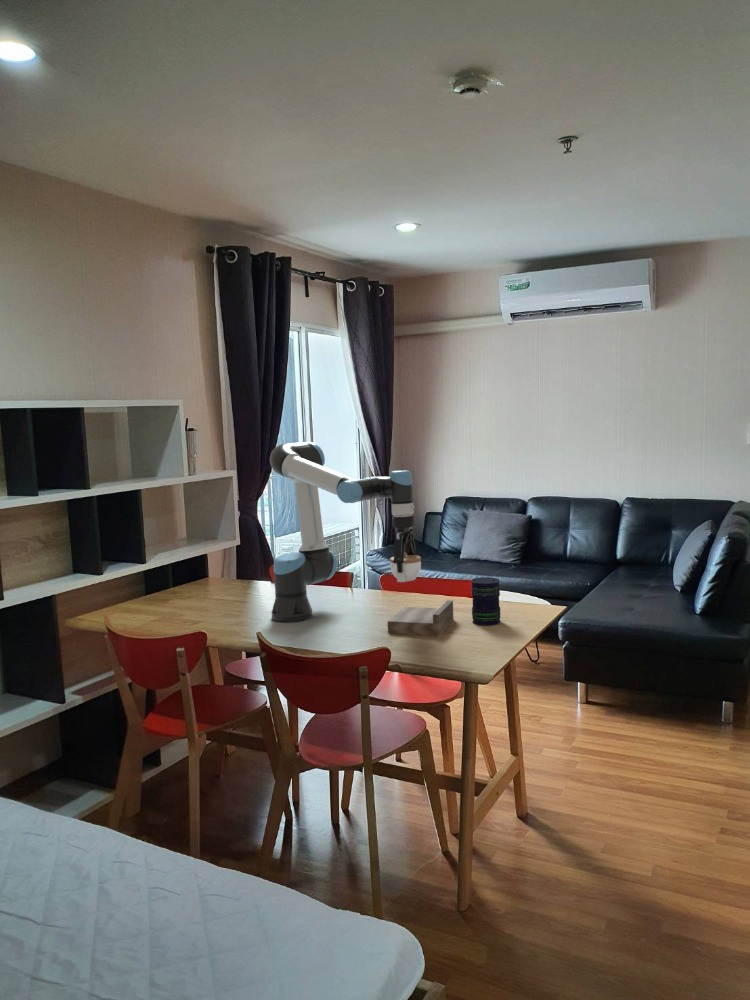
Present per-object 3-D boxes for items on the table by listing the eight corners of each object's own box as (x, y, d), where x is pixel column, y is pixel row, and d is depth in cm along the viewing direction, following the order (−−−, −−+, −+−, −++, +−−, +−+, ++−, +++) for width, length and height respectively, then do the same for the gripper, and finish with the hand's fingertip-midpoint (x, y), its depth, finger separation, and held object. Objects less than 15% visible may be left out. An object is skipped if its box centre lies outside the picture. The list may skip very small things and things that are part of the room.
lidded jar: (419, 582, 261) (417, 555, 260) (388, 583, 263) (386, 555, 262) (424, 576, 271) (422, 550, 270) (394, 576, 274) (392, 550, 273)
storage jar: (471, 626, 265) (470, 583, 263) (472, 618, 275) (471, 577, 273) (501, 626, 264) (500, 583, 262) (500, 618, 273) (499, 577, 272)
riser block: (388, 632, 261) (387, 612, 261) (405, 617, 280) (404, 598, 279) (439, 635, 255) (438, 614, 255) (453, 619, 274) (452, 600, 273)
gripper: (403, 519, 253) (406, 585, 255) (423, 511, 275) (426, 572, 277) (381, 519, 256) (385, 585, 258) (403, 511, 277) (406, 571, 279)
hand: (406, 578), depth 267 cm, fingers closed on lidded jar, 11 cm apart
